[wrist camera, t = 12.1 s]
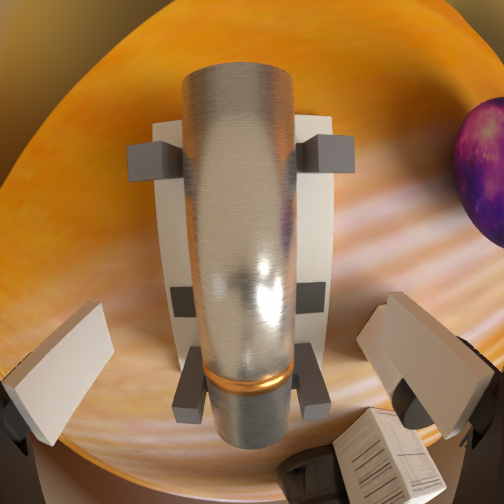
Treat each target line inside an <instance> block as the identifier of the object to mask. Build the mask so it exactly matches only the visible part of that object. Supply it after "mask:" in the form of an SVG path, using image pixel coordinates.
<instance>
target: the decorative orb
mask: <svg viewBox="0 0 504 504" xmlns="http://www.w3.org/2000/svg"><path fill="white" fill-rule="evenodd" d="M453 169H454V178H455V183H456V188H457V191H458V194H459V197H460V200H461V202H462V205H463V207H464V209H465V211H466V213H467V215H468V216H469V218H470V219H471V221H472V222H473V224H474V225H475V226H476V227H477V229H478V230H479V231H480V232H481V233H482V234H483V235H484V236H485V237H486V238H488V239H489V240H490V241H491V242H493V243H494V244H496V245H498V246H500V247H502V248H504V97H499V98H494V99H490V100H487V101H485V102H483V103H481V104H480V105H478V106H477V107H476V108H474V109H473V110H472V111H471V112H470V113H469V114H468V116H467V117H466V118H465V120H464V121H463V123H462V125H461V127H460V129H459V132H458V135H457V138H456V142H455V147H454V155H453Z"/></svg>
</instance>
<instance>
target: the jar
mask: <svg viewBox="0 0 504 504" xmlns="http://www.w3.org/2000/svg"><path fill="white" fill-rule="evenodd" d="M386 305H387V304H384V305H379V306H378V307H377V308H376V310H375V311H374V313H373V314H372V316H371V317H370V319H369V320H368V322H367V323H366V325H365V326H364V328H363V329H362V331H361V332H360V333H359V335H358V336H357V338H356V341H357V343H358V345H359V346H360V348H361V350H362V352H363V354H364V356H365V357H366V359H367V361H368V363H369V365H370V366H371V368H372V370H373V372H374V373H375V375H376V377H377V379H378V380H379V382H380V384H381V386H382V387H383V389H384V391H385V393H386V395H387V396H388V398H389V400H390V402H391V403H392V406H393V409H394V410H395V412H396V414H397V416H398V418H399V420H400V422H401V423H402V425H403V427H405V428H406V429H409V430H418V429H422V428H425V427H428V426H430V425H432V424H434V422H433V420H432V419H431V417H430V416H429V414H428V413H427V411H426V410H425V408H424V407H423V405H422V404H421V402H420V401H419V399H418V398H417V396H416V395H415V394H414V392H413V391H412V389H411V388H410V386H409V385H408V384H407V382H406V381H405V379H404V378H403V376H402V375H401V374H400V372H399V371H398V369H397V368H396V367H395V365H394V364H393V363H392V361H391V360H390V358H389V357H388V356H387V354H386V353H385V352H384V350H383V349H382V348H381V346H380V345H379V342H380V337H381V332H382V327H383V322H384V317H385V311H386Z"/></svg>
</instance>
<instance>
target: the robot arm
mask: <svg viewBox="0 0 504 504" xmlns="http://www.w3.org/2000/svg"><path fill="white" fill-rule="evenodd" d="M379 345H380V346H381V348H382V349H383V350H384V352H385V353H386V354H387V356H388V357H389V358H390V360H391V361H392V363H393V364H394V365H395V367H396V368H397V369H398V371H399V372H400V374H401V375H402V376H403V378H404V379H405V381H406V382H407V384H408V385H409V386H410V388H411V389H412V391H413V392H414V394H415V395H416V396H417V398H418V399H419V401H420V402H421V404H422V405H423V407H424V408H425V410H426V411H427V413H428V414H429V416H430V417H431V419H432V420H433V422H434V423H435V425H436V426H437V428H438V429H439V431H440V432H441V434H442V435H443V437H444V438H445V440H446V439H448V438H450V437H452V436H454V435H456V434H458V433H460V432H461V431H462V429H463V428H464V426H465V425H466V423H467V422H468V421H469V422H470V423H471V424H472V426H471V428H470V430H469V431H468V433H467V434H466V435H465V437H464V438H463V440H462V441H461V443H460V445H459V446H460V447H461V446H462V445H463V444H464V442H465V441H466V440H467V445H466V446H465V447H466V451H465V456H464V461H463V466H462V470H461V474H460V479H459V482H458V486H457V490H456V493H455V497H454V500H453V503H452V504H504V372H503V373H501V372H500V371H499V370H498V369H497V368H496V367H495V366H494V365H493V364H492V363H491V362H490V361H489V360H487V359H486V358H485V357H484V356H483V355H482V354H480V352H479V351H477V350H476V349H474V347H473V346H472V345H471V344H469V343H468V342H467V341H466V340H464V339H462V338H460V337H458V336H455V335H454V334H453V333H451V332H450V331H449V330H448V329H447V328H446V327H444V326H443V325H442V324H441V323H440V322H439V321H437V320H436V319H435V318H434V317H433V316H431V315H430V314H429V313H428V312H427V311H425V310H424V309H423V308H422V307H420V306H419V305H418V304H417V303H415V302H414V301H413V300H412V299H410V298H409V297H408V296H407V295H405V294H404V293H403V292H394V293H388V298H387V305H386V311H385V317H384V322H383V327H382V332H381V337H380V342H379ZM114 352H115V351H114V348H113V345H112V341H111V338H110V334H109V331H108V327H107V324H106V320H105V316H104V312H103V308H102V304H101V302H88V303H86V304H85V305H84V306H83V307H82V308H80V309H79V310H78V311H77V312H76V313H75V314H74V315H72V316H71V317H70V318H69V319H68V320H67V321H66V322H64V323H63V324H62V325H61V326H60V327H59V328H58V329H57V330H55V331H54V332H53V333H52V334H51V335H50V336H49V337H48V338H47V339H46V340H44V341H43V342H42V343H41V344H40V345H39V346H38V347H37V348H36V349H35V350H34V351H33V352H31V353H29V354H28V355H27V356H26V357H25V358H24V359H23V361H22V362H20V363H19V364H18V365H17V367H15V368H14V369H13V370H12V371H11V372H10V373H9V374H8V375H7V376H6V377H5V378H4V379H3V380H2V381H1V382H0V504H46V503H45V500H44V496H43V493H42V489H41V485H40V481H39V477H38V473H37V468H36V463H35V459H34V453H33V447H32V441H31V438H30V437H29V435H28V433H29V431H30V430H32V432H33V433H34V435H35V436H36V437H37V438H38V440H40V441H42V442H44V443H46V444H48V445H51V446H53V445H54V444H55V442H56V440H57V439H58V437H59V435H60V434H61V432H62V430H63V429H64V427H65V426H66V424H67V422H68V421H69V419H70V418H71V416H72V414H73V413H74V411H75V410H76V408H77V407H78V405H79V404H80V402H81V400H82V399H83V397H84V396H85V394H86V393H87V391H88V390H89V388H90V387H91V385H92V384H93V382H94V381H95V379H96V378H97V376H98V375H99V374H100V372H101V371H102V369H103V368H104V366H105V365H106V363H107V362H108V361H109V359H110V358H111V356H112V355H113V353H114ZM277 481H278V484H279V486H280V488H281V490H282V491H283V493H284V495H285V497H286V499H287V500H288V502H289V504H350V501H349V497H348V494H347V490H346V487H345V483H344V480H343V476H342V473H341V470H340V466H339V463H338V459H337V456H336V453H335V449H334V446H333V445H330V446H324V447H319V448H315V449H311V450H308V451H304V452H302V453H299V454H297V455H294V456H292V457H290V458H289V459H287V460H285V461H284V462H283V463H282V464H280V466H279V467H278V469H277Z"/></svg>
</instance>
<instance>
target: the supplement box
mask: <svg viewBox="0 0 504 504" xmlns="http://www.w3.org/2000/svg"><path fill="white" fill-rule="evenodd" d="M333 446H334V449H335V453H336V456H337V459H338V463H339V466H340V470H341V473H342V476H343V480H344V483H345V487H346V490H347V494H348V497H349V501H350V504H424V503H426V502H427V501H429V500H431V499H432V498H434V497H435V496H436V495H438V494H439V493H441V492H442V491H443V490H445V489H446V488H447V487H446V485H445V483H444V481H443V479H442V477H441V475H440V473H439V471H438V470H437V468H436V466H435V464H434V462H433V460H432V459H431V457H430V455H429V453H428V451H427V449H426V447H425V445H424V444H423V442H422V440H421V438H420V436H419V435H418V433H417V431H416V430H409V429H406V428H405V427H403V425H402V423H401V422H400V420H399V418H398V416H397V414H396V412H395V411H389V410H383V409H376V408H371V407H370V408H368V409H367V410H366V411H365V412H364V413H363V414H362V415H361V416H360V417H359V418H358V419H357V420H356V421H355V422H354V423H353V424H352V425H351V426H350V427H349V428H348V429H347V430H346V431H345V432H343V433H342V434H341V435H340V436H339V437H338V438H337V439H336V440H334V441H333Z"/></svg>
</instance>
